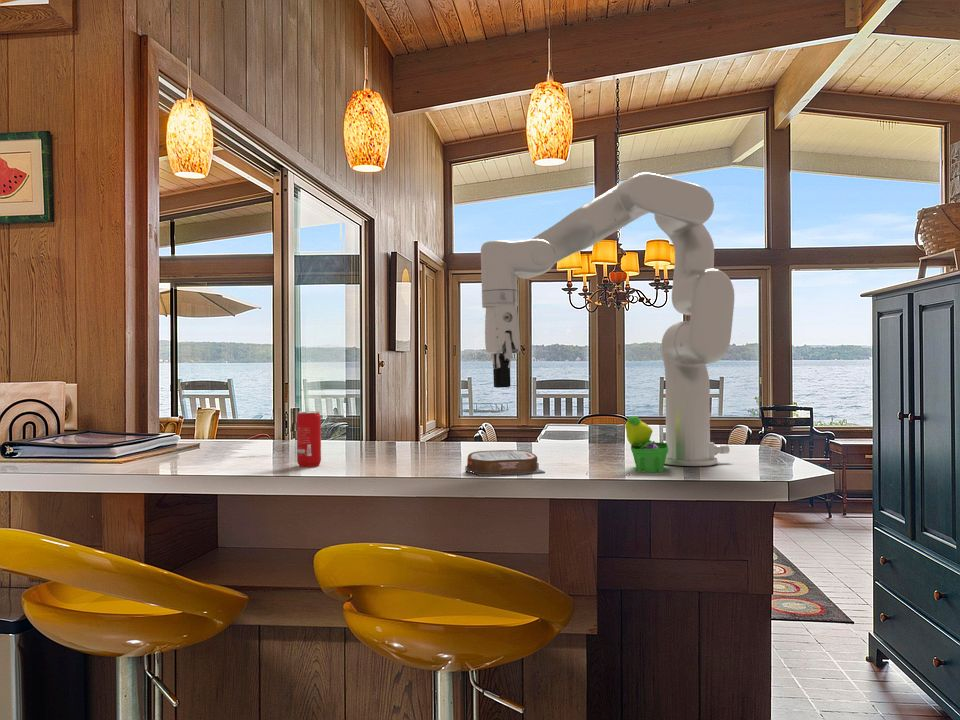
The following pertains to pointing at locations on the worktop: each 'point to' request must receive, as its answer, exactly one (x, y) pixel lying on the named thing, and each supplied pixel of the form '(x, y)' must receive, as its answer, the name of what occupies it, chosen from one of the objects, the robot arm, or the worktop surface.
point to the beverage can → (309, 439)
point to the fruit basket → (645, 446)
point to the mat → (508, 473)
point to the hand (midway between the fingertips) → (502, 387)
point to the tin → (502, 461)
